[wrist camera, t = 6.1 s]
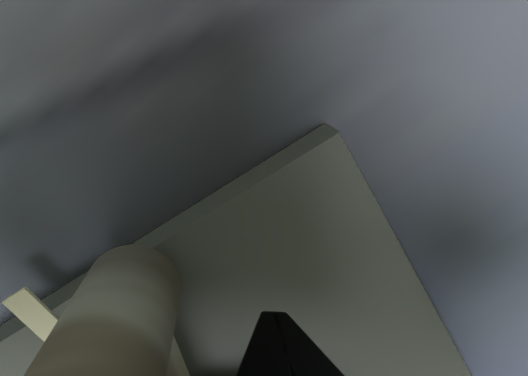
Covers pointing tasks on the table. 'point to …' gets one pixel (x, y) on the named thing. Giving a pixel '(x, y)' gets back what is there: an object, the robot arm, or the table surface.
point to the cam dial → (118, 320)
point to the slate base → (280, 273)
